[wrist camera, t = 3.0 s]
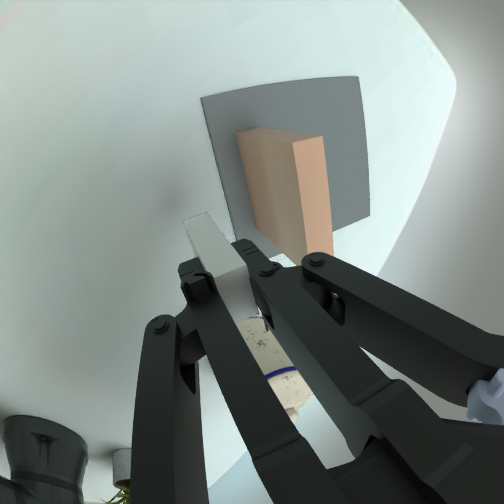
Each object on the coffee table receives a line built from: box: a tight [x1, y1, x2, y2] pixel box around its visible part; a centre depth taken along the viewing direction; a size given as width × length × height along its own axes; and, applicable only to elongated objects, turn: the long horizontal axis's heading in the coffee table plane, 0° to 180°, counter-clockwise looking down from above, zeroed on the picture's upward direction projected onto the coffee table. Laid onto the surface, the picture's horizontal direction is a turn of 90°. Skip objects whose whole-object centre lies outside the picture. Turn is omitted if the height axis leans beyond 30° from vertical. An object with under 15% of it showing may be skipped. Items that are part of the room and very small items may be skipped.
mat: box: [201, 76, 370, 259], centre depth 26 cm, size 16×16×1 cm
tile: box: [236, 127, 334, 266], centre depth 21 cm, size 2×9×9 cm, turn 12°
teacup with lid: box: [236, 318, 313, 423], centre depth 28 cm, size 12×9×12 cm
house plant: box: [100, 449, 131, 504], centre depth 28 cm, size 14×14×16 cm
